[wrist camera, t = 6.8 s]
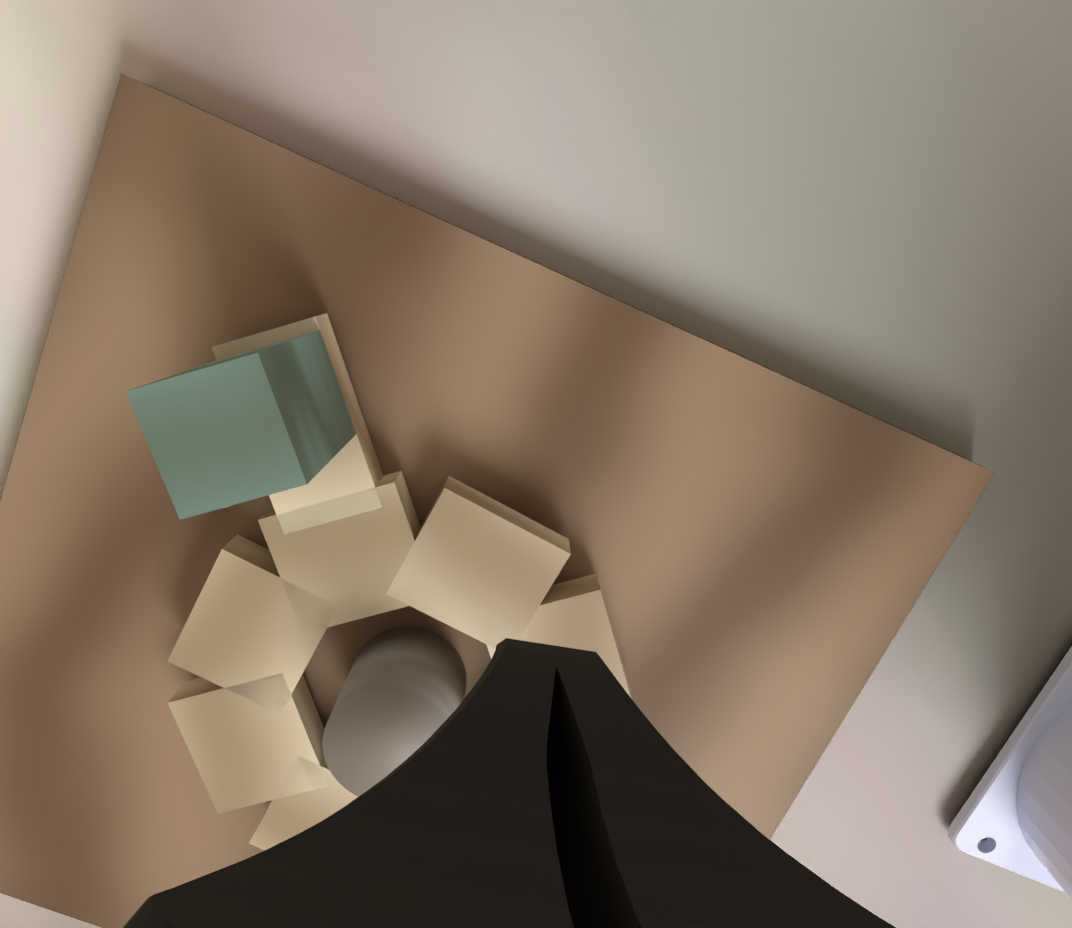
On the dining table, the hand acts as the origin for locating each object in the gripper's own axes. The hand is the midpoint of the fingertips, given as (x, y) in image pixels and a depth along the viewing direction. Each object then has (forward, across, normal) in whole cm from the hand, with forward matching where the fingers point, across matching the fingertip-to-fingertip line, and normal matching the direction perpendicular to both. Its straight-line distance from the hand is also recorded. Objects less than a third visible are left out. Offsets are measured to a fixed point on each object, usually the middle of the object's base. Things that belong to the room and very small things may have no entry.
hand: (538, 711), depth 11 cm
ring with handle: (+9, +3, +4) cm, 10 cm away
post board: (+10, +2, +5) cm, 12 cm away
